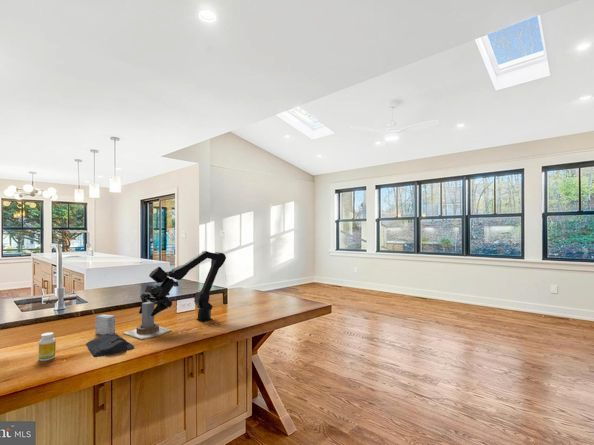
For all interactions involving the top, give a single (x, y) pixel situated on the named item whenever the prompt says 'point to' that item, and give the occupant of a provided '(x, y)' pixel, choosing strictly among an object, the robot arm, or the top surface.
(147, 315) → the tall square grey column
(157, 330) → the ring holder
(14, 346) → the top surface
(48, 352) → the supplement bottle
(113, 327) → the medicine box
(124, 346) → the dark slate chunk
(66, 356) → the top surface
